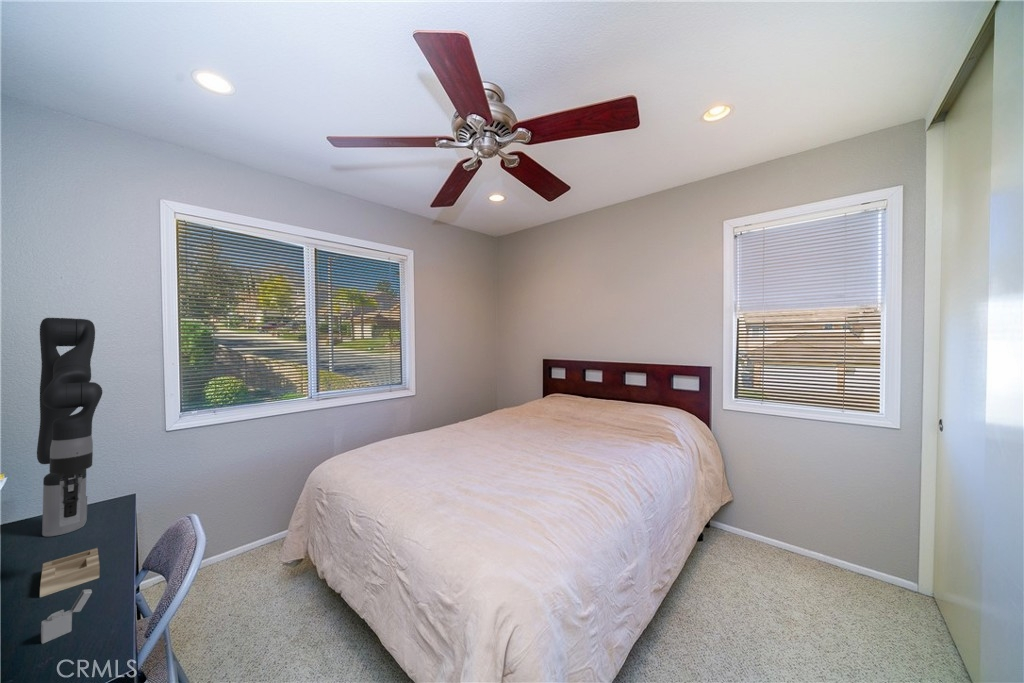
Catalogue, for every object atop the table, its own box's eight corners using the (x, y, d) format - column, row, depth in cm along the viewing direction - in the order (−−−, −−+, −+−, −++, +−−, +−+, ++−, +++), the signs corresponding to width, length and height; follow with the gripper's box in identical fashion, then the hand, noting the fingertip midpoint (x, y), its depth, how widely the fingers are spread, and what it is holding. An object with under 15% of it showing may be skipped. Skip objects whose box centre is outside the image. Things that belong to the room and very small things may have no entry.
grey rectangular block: (60, 522, 98) (60, 490, 98) (79, 517, 100) (80, 486, 100) (59, 526, 95) (60, 494, 96) (79, 521, 98) (80, 490, 98)
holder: (42, 573, 99) (43, 563, 99) (97, 557, 107) (97, 547, 107) (39, 597, 90) (40, 586, 90) (99, 577, 98) (99, 567, 98)
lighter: (41, 644, 77) (42, 608, 77) (40, 640, 78) (41, 605, 78) (91, 622, 83) (92, 589, 83) (89, 619, 84) (90, 586, 84)
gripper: (93, 455, 97) (91, 517, 97) (92, 445, 106) (90, 502, 105) (48, 462, 91) (46, 528, 91) (51, 451, 100) (49, 511, 99)
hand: (70, 513), depth 98 cm, fingers closed on grey rectangular block, 3 cm apart
